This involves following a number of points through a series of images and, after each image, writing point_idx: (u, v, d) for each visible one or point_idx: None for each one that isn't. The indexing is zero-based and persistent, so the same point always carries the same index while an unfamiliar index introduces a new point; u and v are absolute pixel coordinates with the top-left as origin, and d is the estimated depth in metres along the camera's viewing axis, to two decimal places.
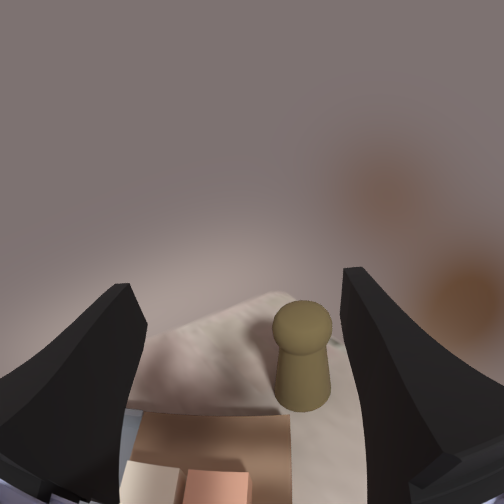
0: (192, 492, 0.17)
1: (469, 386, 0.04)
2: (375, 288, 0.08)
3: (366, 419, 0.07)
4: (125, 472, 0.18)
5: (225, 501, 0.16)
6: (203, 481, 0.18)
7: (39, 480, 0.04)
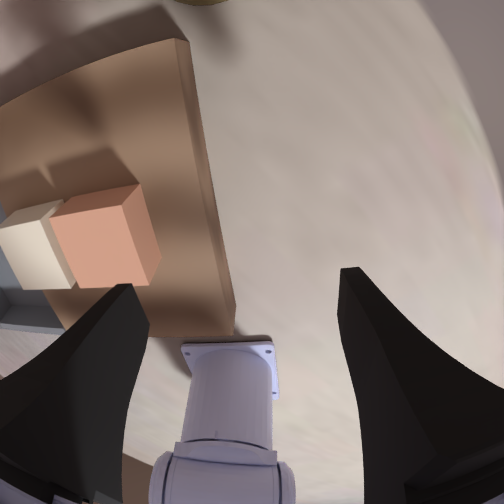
0: (71, 250, 0.14)
1: (465, 387, 0.04)
2: (372, 288, 0.08)
3: (363, 420, 0.07)
4: (2, 247, 0.14)
5: (111, 255, 0.14)
6: (73, 231, 0.14)
7: (42, 481, 0.04)
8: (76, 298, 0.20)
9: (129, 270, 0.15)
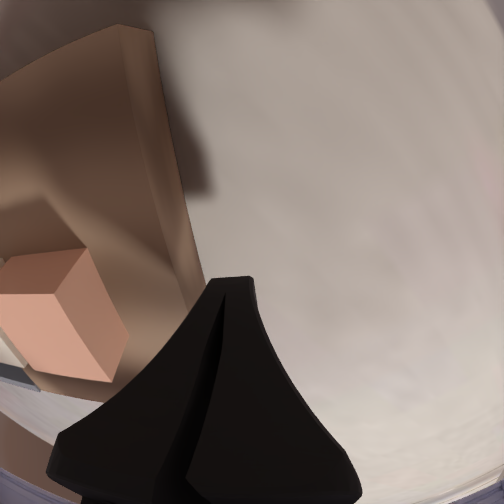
0: (12, 333, 0.09)
1: (277, 420, 0.04)
2: (245, 299, 0.08)
3: None
4: None
5: (58, 347, 0.09)
6: (8, 314, 0.09)
7: None
8: None
9: (84, 365, 0.10)
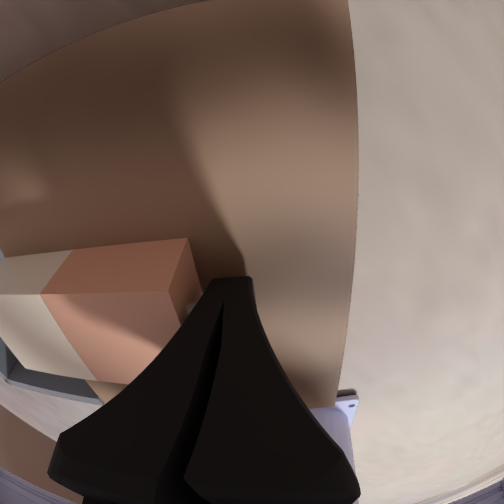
0: (80, 339, 0.09)
1: (275, 420, 0.04)
2: (244, 299, 0.08)
3: None
4: None
5: (148, 354, 0.09)
6: (81, 318, 0.08)
7: None
8: None
9: None
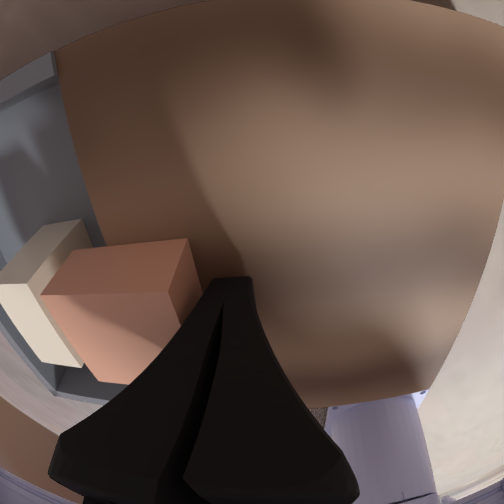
0: (81, 340, 0.09)
1: (275, 420, 0.04)
2: (244, 299, 0.08)
3: None
4: None
5: (148, 354, 0.09)
6: (82, 319, 0.08)
7: None
8: None
9: None
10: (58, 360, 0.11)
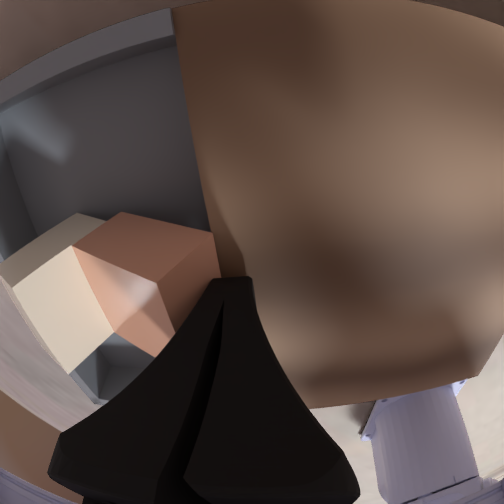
0: (100, 294, 0.11)
1: (275, 420, 0.04)
2: (244, 299, 0.08)
3: None
4: None
5: (147, 329, 0.10)
6: (99, 277, 0.10)
7: None
8: (314, 370, 0.13)
9: None
10: (52, 357, 0.11)
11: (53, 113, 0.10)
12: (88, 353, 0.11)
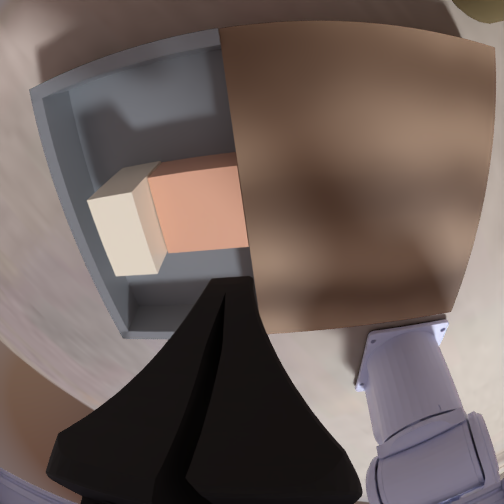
0: (168, 212, 0.16)
1: (277, 420, 0.04)
2: (245, 299, 0.08)
3: None
4: None
5: (215, 216, 0.16)
6: (175, 192, 0.15)
7: None
8: (309, 286, 0.18)
9: (231, 231, 0.16)
10: (135, 270, 0.15)
11: (120, 90, 0.14)
12: (163, 257, 0.16)
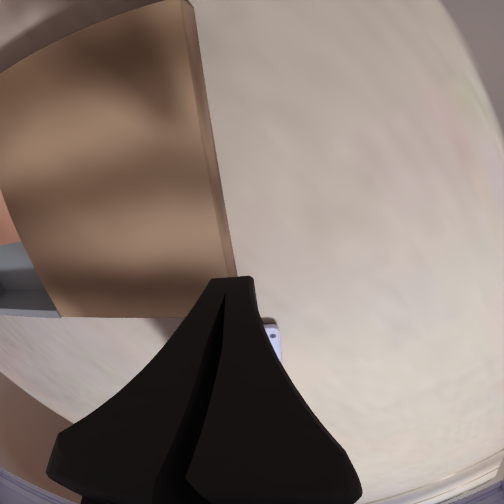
0: None
1: (277, 420, 0.04)
2: (245, 299, 0.08)
3: None
4: None
5: None
6: None
7: None
8: (69, 275, 0.18)
9: (9, 230, 0.17)
10: None
11: None
12: None
